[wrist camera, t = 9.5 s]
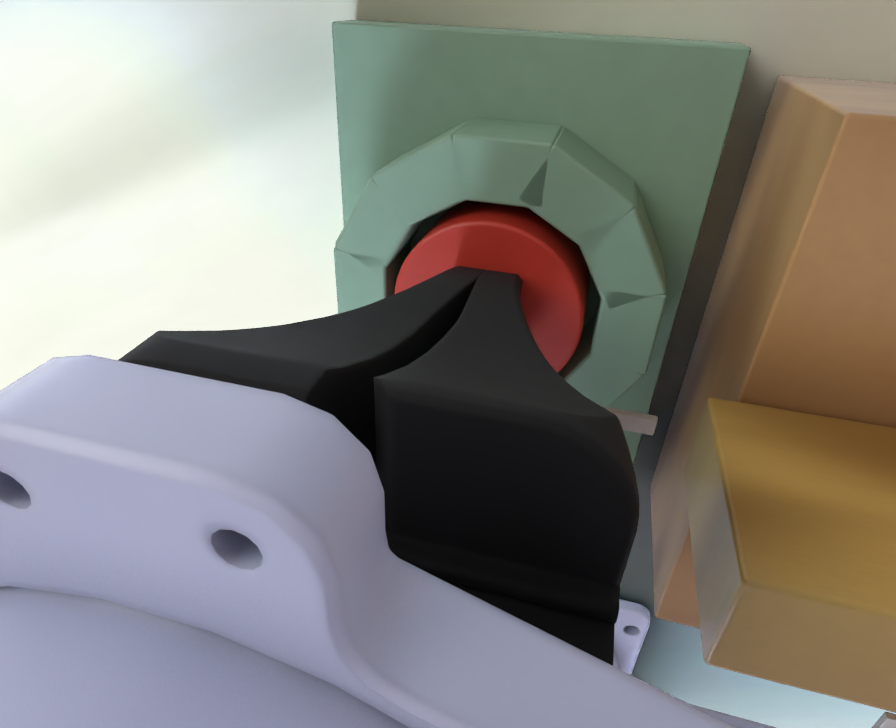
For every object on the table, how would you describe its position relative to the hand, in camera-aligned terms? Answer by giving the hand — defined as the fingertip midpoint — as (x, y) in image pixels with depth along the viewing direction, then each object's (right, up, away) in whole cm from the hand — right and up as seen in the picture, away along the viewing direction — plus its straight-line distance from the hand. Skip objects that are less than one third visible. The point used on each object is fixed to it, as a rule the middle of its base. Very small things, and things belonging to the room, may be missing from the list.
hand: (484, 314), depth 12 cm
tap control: (+1, +2, +3) cm, 3 cm away
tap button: (+1, +1, +2) cm, 2 cm away
